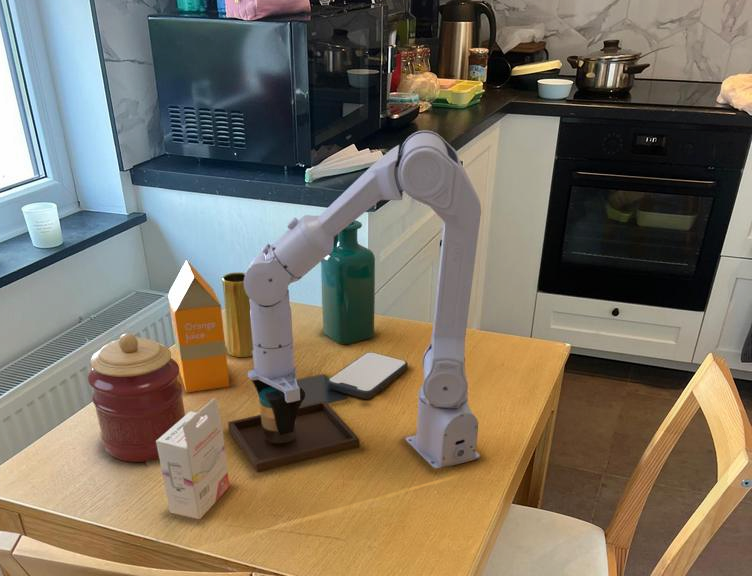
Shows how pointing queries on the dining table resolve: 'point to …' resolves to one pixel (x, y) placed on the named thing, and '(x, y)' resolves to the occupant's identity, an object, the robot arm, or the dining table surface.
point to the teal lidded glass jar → (272, 421)
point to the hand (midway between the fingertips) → (279, 423)
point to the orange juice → (198, 332)
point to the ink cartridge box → (194, 462)
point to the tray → (314, 438)
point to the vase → (237, 315)
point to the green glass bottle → (348, 289)
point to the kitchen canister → (135, 396)
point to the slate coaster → (318, 390)
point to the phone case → (367, 375)
